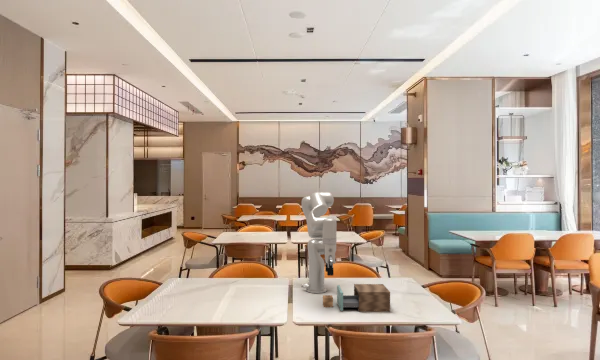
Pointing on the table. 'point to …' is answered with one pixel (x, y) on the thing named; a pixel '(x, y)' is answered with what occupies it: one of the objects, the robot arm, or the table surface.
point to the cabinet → (372, 297)
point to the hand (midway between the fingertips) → (329, 273)
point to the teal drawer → (346, 299)
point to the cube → (327, 301)
